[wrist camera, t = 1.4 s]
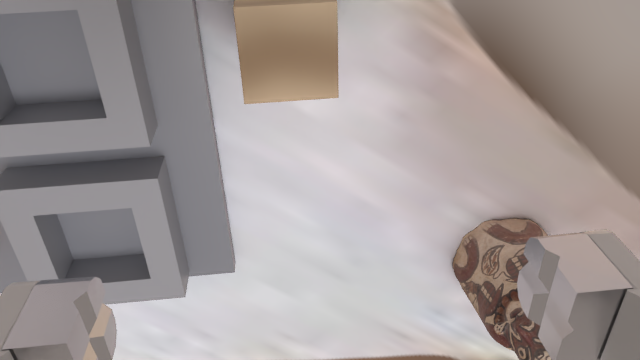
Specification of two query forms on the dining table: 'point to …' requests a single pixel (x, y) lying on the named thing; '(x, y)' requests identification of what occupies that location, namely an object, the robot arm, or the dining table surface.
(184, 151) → the socket board
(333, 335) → the dining table surface
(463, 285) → the figurine
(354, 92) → the dining table surface
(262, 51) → the wood plug
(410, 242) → the dining table surface
